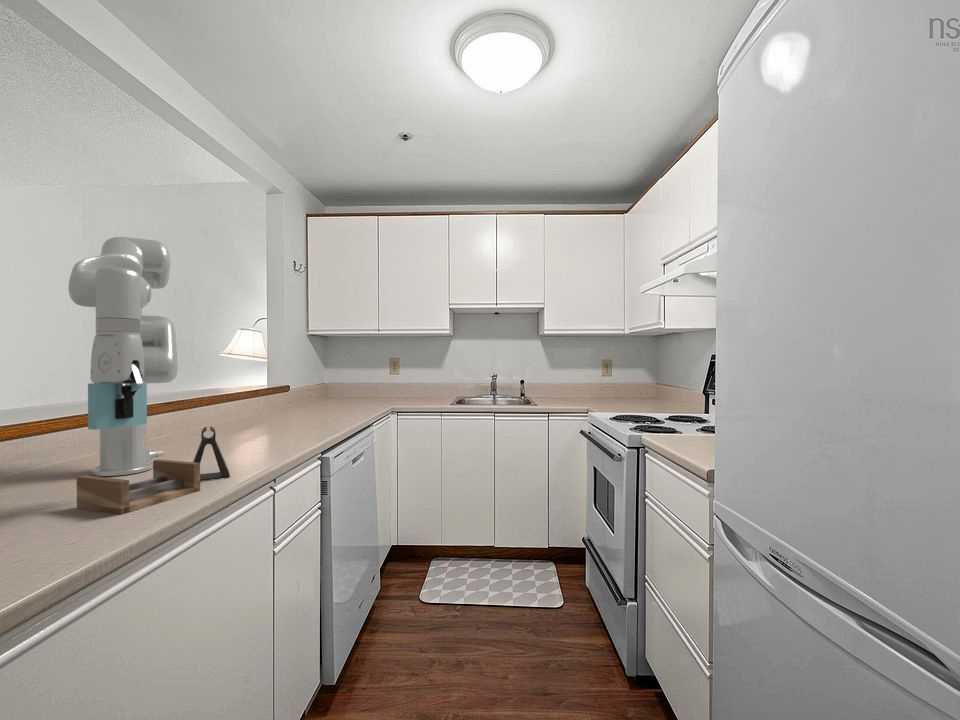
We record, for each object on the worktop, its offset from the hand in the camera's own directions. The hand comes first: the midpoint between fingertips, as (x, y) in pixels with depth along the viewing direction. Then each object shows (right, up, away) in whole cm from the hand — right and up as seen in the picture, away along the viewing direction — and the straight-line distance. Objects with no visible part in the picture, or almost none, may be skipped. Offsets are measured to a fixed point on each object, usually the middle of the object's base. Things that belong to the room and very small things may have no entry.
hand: (119, 417), depth 101 cm
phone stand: (+9, -17, +18) cm, 26 cm away
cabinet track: (+5, -17, 0) cm, 17 cm away
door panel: (0, -2, 0) cm, 2 cm away
